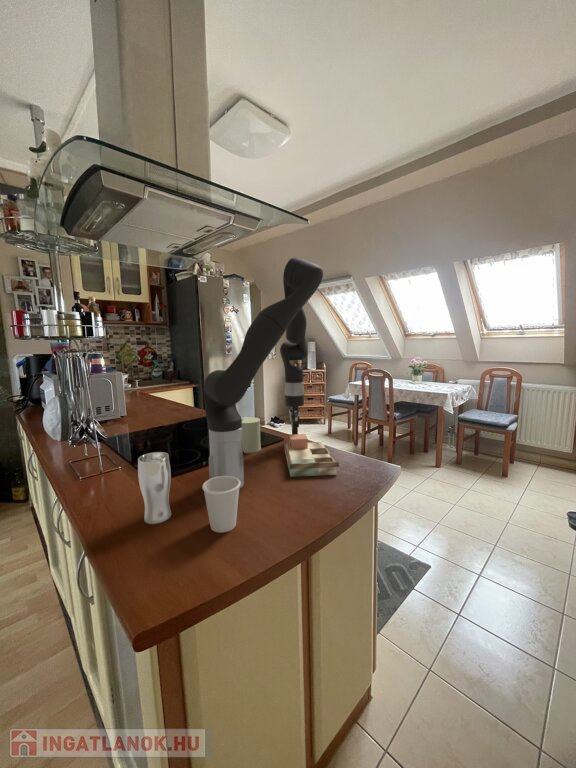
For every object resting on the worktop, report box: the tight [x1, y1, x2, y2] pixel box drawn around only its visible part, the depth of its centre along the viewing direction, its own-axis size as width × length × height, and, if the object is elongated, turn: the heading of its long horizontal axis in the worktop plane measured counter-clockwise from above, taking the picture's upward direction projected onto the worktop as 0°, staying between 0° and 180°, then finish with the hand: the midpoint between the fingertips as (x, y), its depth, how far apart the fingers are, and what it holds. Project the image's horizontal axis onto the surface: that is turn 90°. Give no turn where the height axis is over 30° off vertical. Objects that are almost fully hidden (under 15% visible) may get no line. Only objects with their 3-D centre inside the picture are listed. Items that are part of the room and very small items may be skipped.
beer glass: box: [137, 451, 172, 525], centre depth 75 cm, size 7×7×15 cm
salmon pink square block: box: [289, 433, 309, 449], centre depth 117 cm, size 6×6×4 cm
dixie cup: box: [201, 476, 241, 534], centre depth 71 cm, size 8×8×10 cm
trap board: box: [283, 439, 340, 478], centre depth 109 cm, size 15×24×4 cm, turn 5°
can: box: [241, 416, 262, 454], centre depth 121 cm, size 9×9×12 cm
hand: (294, 436), depth 126 cm, fingers closed
